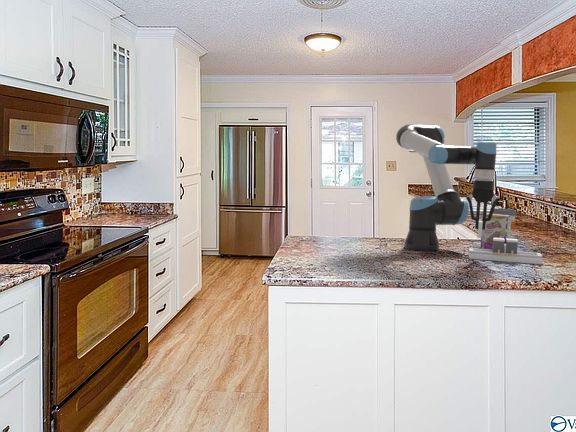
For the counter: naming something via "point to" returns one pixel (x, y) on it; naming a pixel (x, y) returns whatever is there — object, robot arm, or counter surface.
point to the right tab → (511, 245)
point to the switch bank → (505, 256)
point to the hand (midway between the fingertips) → (479, 237)
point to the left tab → (498, 245)
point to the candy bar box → (495, 230)
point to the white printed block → (507, 212)
